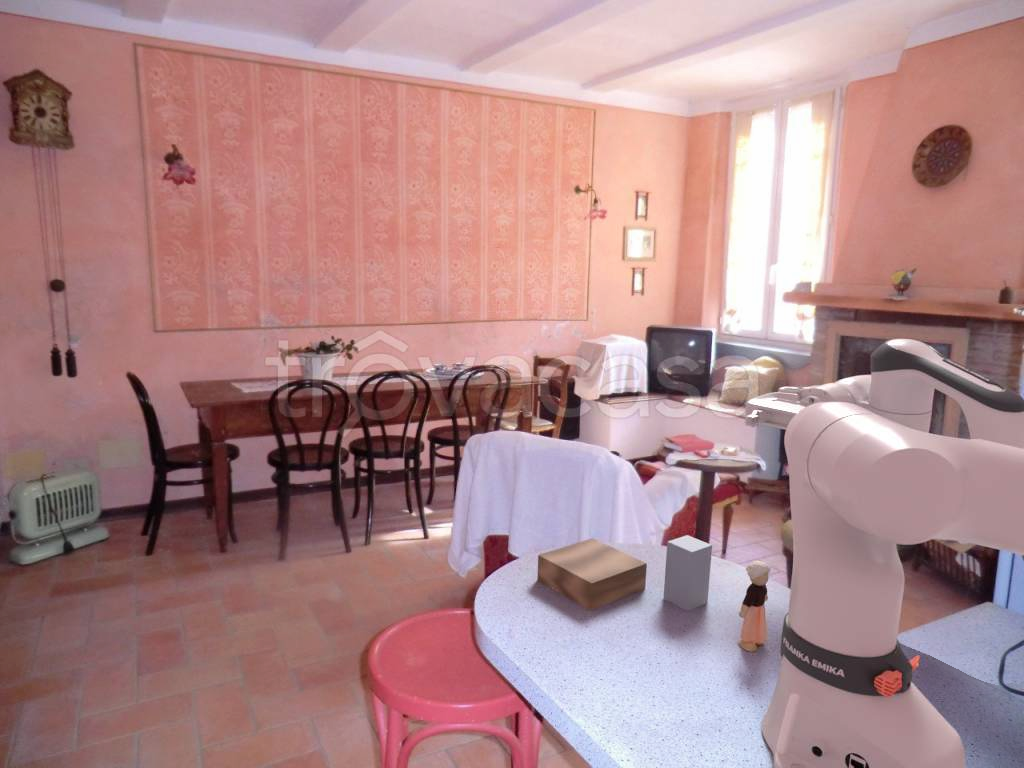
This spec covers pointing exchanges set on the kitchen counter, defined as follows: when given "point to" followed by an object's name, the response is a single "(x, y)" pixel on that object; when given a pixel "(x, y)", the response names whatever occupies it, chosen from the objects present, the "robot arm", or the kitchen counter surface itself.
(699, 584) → the slate pillar block
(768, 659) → the kitchen counter surface
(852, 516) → the robot arm
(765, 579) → the grandmother figurine
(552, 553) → the walnut block
